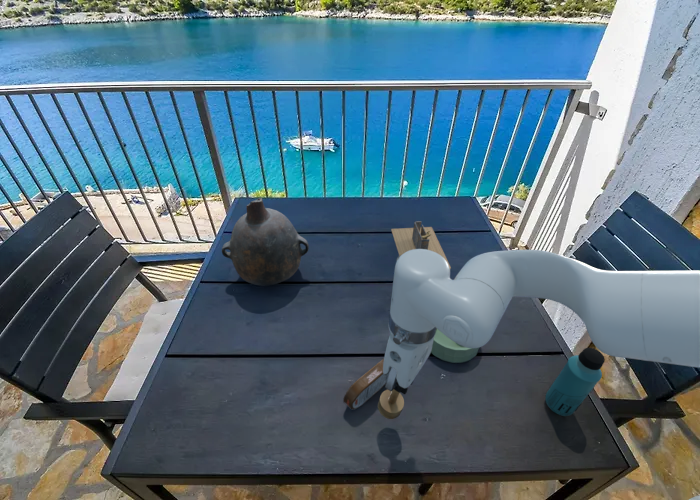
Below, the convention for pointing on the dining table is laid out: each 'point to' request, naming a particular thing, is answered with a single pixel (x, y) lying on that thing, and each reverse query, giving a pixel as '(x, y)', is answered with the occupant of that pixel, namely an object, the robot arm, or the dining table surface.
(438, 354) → the bowl
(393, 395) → the wooden pestle
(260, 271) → the jug
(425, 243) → the ruin model on sheet
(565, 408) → the beverage bottle
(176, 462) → the dining table surface
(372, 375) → the tin
